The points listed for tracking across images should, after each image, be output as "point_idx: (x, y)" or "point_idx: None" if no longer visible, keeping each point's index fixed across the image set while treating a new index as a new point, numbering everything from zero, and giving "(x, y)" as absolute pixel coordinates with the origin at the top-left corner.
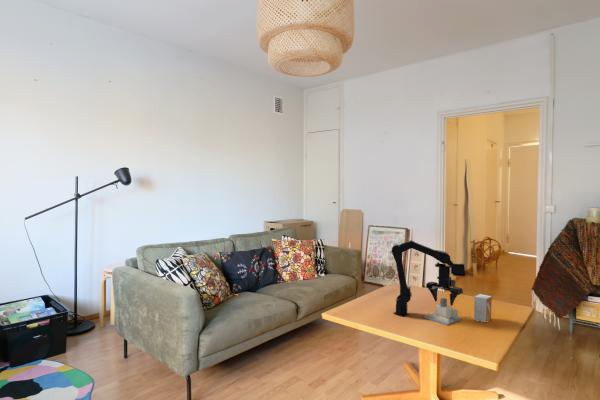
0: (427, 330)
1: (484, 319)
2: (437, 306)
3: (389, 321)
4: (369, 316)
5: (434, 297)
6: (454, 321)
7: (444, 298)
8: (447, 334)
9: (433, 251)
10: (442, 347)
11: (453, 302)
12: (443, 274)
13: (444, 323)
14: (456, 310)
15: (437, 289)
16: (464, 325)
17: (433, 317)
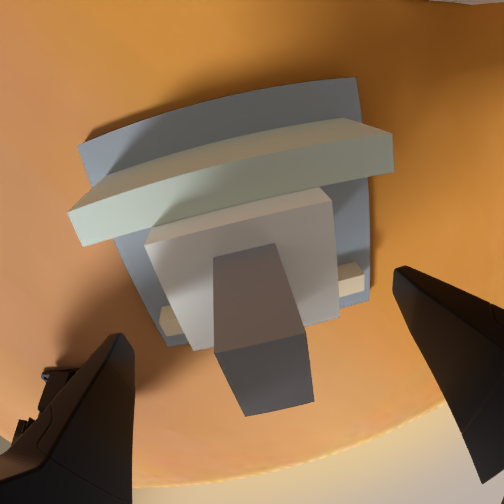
0: (336, 403)
1: (483, 2)
2: (213, 342)
3: (175, 452)
4: None
5: (127, 424)
6: (367, 206)
7: (253, 355)
8: (418, 358)
9: None
10: (436, 406)
11: (445, 288)
12: None
13: (345, 304)
14: (391, 167)
15: (16, 493)
16: (432, 179)
17: None
